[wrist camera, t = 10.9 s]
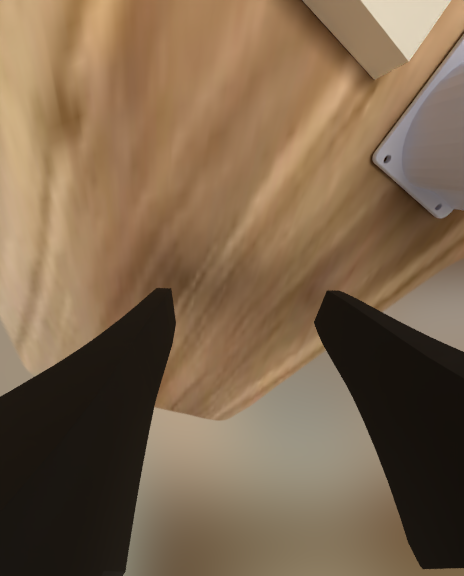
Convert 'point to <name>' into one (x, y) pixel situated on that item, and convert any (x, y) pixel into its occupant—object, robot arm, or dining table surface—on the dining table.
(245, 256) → the dining table surface
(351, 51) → the socket board
